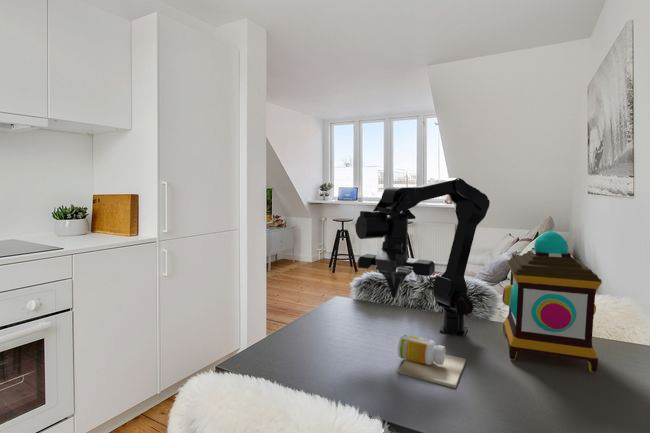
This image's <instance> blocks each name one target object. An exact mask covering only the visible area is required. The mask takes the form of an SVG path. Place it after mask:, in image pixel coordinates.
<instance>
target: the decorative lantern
mask: <svg viewBox="0 0 650 433" xmlns="http://www.w3.org/2000/svg"><path fill="white" fill-rule="evenodd" d="M568 246H569V245H568V242H567V240H566V239H565V238H564V237H563V235H561V234H560V233H558V232H556V231H553V230H552V231H551V230H550V231H546V232H543V233H542V234H540V235H539V236H538V237H537V238H536V239H535V240H534V246H533V247H531V250H528V251H527V252H525V253H523V254H522V255H521V254H520V255H519V254H515V255H514V256H513V257H511V258H510V259H508V260H507V266H508V268H509V270H510V284H507V285H505V287H504V289H503V291H502V303H503V304H504V305H506V306H508V315H507V316H506V318H505V319H504V321H503V323H502V326H503V327H502V330H503V334H504V335H505V336H506V338H507V343H508V349H509V350H508V354H509V359H510V360H512V361H515V360H516V359H517V354H518V352H528V353H534V354H540V355H541V354H542V355H549V356H556V357H561V358H568V359H576V360H582V361H587V365H588V366H587V367H588V371H589V372H590V373H591V374H592V373H593V374H594V373H596V372H597V371H598V368H599V367H598V365H599V359H598V355H597V353H596V351H595V348H594V347H593V330H594V315H596V311H597V306H596V304H595V302H596V300H595V299H596V292H597V290H598V289H599V288H600V286H601V285H602V283H603V280H602V279H601V278H599V276H598V275H597V274H596V273H595V272H594V271H593V270H592V269H590V268H589V267H587V266H586V265H584V263H582V262H580V261H578V259H576V258H574V257H572V254H571V253H570V252H569V248H568Z"/></svg>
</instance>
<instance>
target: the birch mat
mask: <svg viewBox="0 0 650 433" xmlns="http://www.w3.org/2000/svg"><path fill="white" fill-rule="evenodd" d="M466 363H467V359H466V358H463V357H458V356H454V355H449V354H445V359H444V363H443V365H440V364H436V363H435V362H433V364H431V365H426V364H422V363H418V362H414V361H410V360H406V359H404V361H403V363H402V364H401V365H400V367H399V368H398V370H397V373H398V374H401V375H404V376H408V377H412V378H416V379H420V380H423V381H427V382H430V383H431V382H432V383H434V384H438V385H443V386H446V387H449V388H454V389H456V387H457V385H458V383H459V381H460V378H461V375H462V373H463V370H464V367H465V366H466Z"/></svg>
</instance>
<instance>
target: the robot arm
mask: <svg viewBox="0 0 650 433" xmlns="http://www.w3.org/2000/svg"><path fill="white" fill-rule="evenodd" d="M445 196H448V197H449V199H450V201H452V203H454V205H455V210H454V212H455V215H456V219H457V226H456V229H455V233H454V237H453V241H452V245H451V248H450V252H449V256H448V260H447V264H446V268H445V271H444V272H443V273H442V274H441V275H436V276H435V278H434V283H433V286H432V289H431V290H433V292H432V294H433V297H434V300H435V301H436V305H437V306H438V307H440V308H443V311H442V312H443V313H442V314H443V318H442V320H443V321H442V325H441V327H440V328H439V331H438V332H439V333H441V334H442V333H444V334H448V335H453V336H458V337H465V335H466V334H467V331H468V327H467V326H465V322H466V321H465V320H466V316H469V314H472V313H473V310H474V304H473V303H472V302H471V300H470V299H469V298H468V296H467V292H468V286H467V282H466V280H465V273H466V269H467V265H468V262H469V257H470V254H471V250H472V246H473V243H474V242H473V241H474V238H475V234H476V230H477V227H478V225H480V223H481V222H482V221H483V220H484V218H485V217H486V215H487V213H488V210H489V208H490V204H491V202H490V199H489V198H488V195H487V194H486V193H484V192H482V191H480V189H477V188H476V187H474V186H473V185H470V184H469V183H467V182H466V181H465V179H463V178H461V177H448V178H446V179H444V180H438V181H434V182H429V183H425V184H420V185H417V186H412V187H411V186H406V187H405V186H404V187H403V186H399V187H398V186H396V187H387V188H385V189H384V190H383V193H382V195H381V198H380V199H379V201H378V203H376V206H375V207H374V209H373V211H372V210H371V211H368V210H361V211H360V212H359V216H358V217H357V220H356V222H355V224H354V228H355V233H356V236H357V237H358V239H359V240H367V239H382V238H384V240H383V241H382V244H381V249H380V250H379V252H377V254H370V253H366V254H363V255H361V256H359V257H358V260H357V268H360V269H370V268H371V267H372V266H375V267H376V268H375V269H376V271H377V272H378V274H381V275H382V276H383V277H384V279H385V281H386V282H387V286H388V288H389V291H390V294H391V297H392V298H395V299H396V298H397V297H398V295H399V292H400V290H401V288H402V284H403V283H404V281H405V279H406V277H408V276H409V275H410V274H412V272H413V273H414V274H415V275H416V276H423V277H430V276H431V275H432V274H434V273H435V271H436V264H435V262H434V261H433V260H430V259H417V260H416V261H414V262H412V261H408V260H409V256H408V245H409V240H408V233H409V232H408V231H409V230H408V229H409V228H408V227H409V220H415V219H416V215H414V214H413V213H412V212H411V210H410V209H412V208H415V207H417V205H418V204H420V203H421V202H425V201H428V200H432V199H435V198H436V199H437V198H440V197H445Z"/></svg>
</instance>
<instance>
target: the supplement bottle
mask: <svg viewBox="0 0 650 433" xmlns="http://www.w3.org/2000/svg"><path fill="white" fill-rule="evenodd" d="M445 355H446V347H445V345H440V344H438V345H436V342H435V341H434V340H432V339H429V338H423V337H419V336H414V335H409V334H401V336H400V338H399V341H398V344H397V356H398V357H399V358H400V359H402V360H410V361H414V362H418V363H422V364H426V365H431V364H433V362H435V363H436V364H440V365H443V363H444V359H445Z"/></svg>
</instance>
